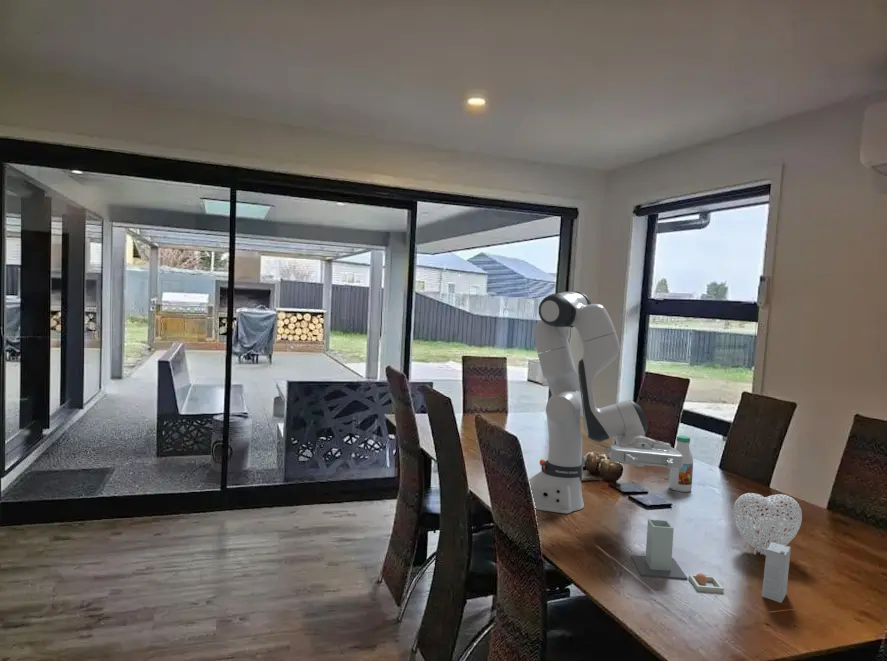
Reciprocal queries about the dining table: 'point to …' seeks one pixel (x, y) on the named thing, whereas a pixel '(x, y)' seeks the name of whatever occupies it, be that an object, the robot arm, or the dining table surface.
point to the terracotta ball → (701, 579)
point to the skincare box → (776, 572)
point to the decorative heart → (766, 520)
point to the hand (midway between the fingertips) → (652, 464)
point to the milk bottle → (682, 476)
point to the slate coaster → (646, 571)
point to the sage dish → (707, 588)
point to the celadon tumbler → (659, 545)
